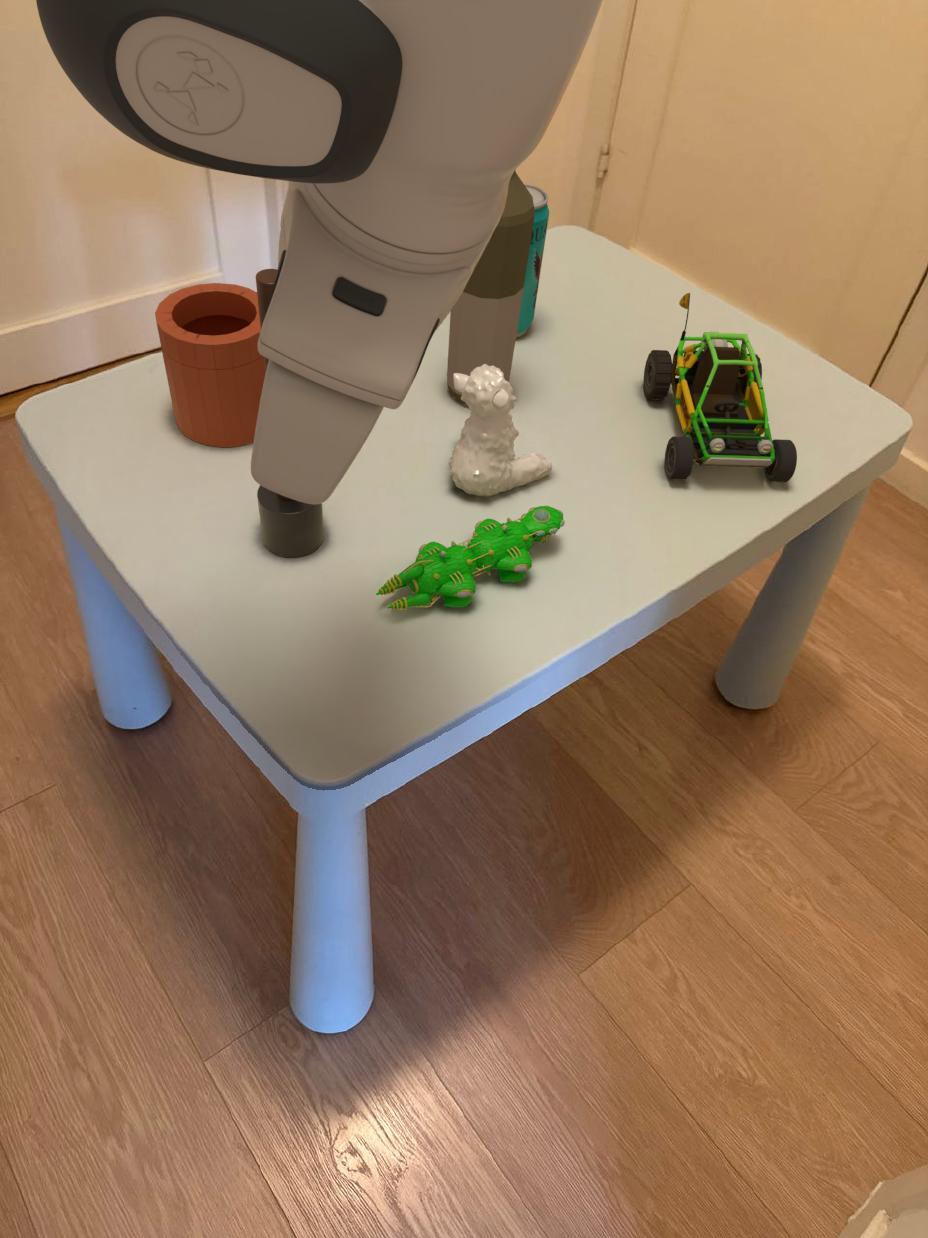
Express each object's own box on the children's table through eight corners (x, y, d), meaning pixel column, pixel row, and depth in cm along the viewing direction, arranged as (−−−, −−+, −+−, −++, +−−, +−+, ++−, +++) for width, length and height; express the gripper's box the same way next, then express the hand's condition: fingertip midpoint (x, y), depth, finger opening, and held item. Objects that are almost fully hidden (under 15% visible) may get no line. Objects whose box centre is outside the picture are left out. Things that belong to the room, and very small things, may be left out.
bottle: (434, 404, 93) (455, 79, 71) (451, 366, 98) (476, 50, 75) (502, 418, 93) (545, 95, 70) (516, 380, 97) (560, 64, 75)
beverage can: (532, 343, 102) (552, 209, 91) (480, 339, 102) (494, 204, 90) (530, 315, 106) (550, 183, 94) (481, 311, 105) (494, 178, 94)
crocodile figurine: (579, 560, 80) (588, 523, 77) (403, 641, 73) (404, 604, 69) (533, 514, 84) (540, 478, 80) (360, 588, 76) (360, 550, 73)
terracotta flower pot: (180, 453, 85) (160, 349, 77) (170, 390, 92) (150, 287, 83) (289, 440, 88) (280, 337, 80) (271, 379, 94) (262, 278, 86)
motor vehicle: (669, 489, 87) (699, 395, 79) (635, 370, 100) (657, 280, 92) (787, 492, 88) (828, 400, 81) (738, 374, 101) (769, 285, 93)
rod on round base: (267, 562, 77) (236, 299, 59) (258, 520, 80) (225, 259, 62) (329, 552, 78) (317, 292, 60) (317, 511, 82) (302, 253, 64)
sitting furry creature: (553, 474, 88) (574, 365, 79) (505, 523, 83) (521, 412, 74) (470, 434, 91) (481, 325, 82) (419, 479, 86) (425, 368, 77)
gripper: (376, 52, 45) (314, 254, 57) (247, 359, 36) (206, 526, 47) (493, 111, 47) (409, 297, 58) (399, 422, 37) (322, 568, 49)
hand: (317, 402), depth 53 cm, fingers open, 8 cm apart
